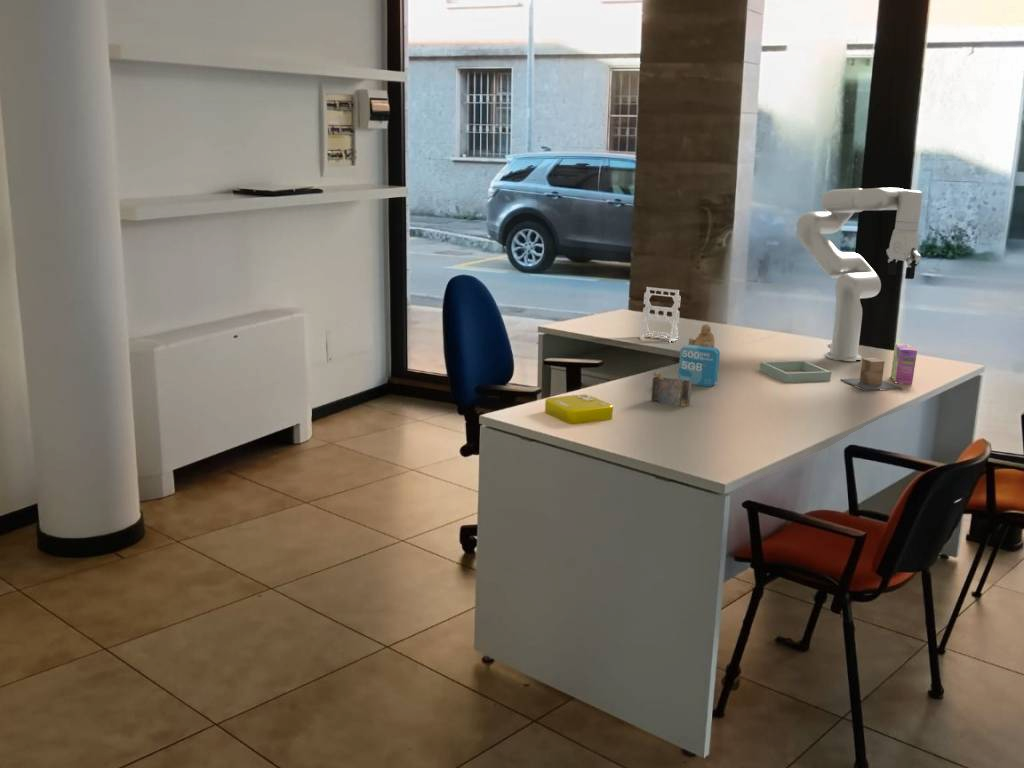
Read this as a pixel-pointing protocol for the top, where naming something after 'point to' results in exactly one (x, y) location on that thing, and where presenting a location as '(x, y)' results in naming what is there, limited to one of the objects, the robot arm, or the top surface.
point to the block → (872, 371)
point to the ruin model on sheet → (671, 390)
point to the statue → (704, 338)
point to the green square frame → (810, 375)
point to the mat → (870, 387)
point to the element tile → (578, 409)
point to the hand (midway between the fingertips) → (900, 276)
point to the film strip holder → (665, 309)
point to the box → (903, 363)
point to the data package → (699, 365)
